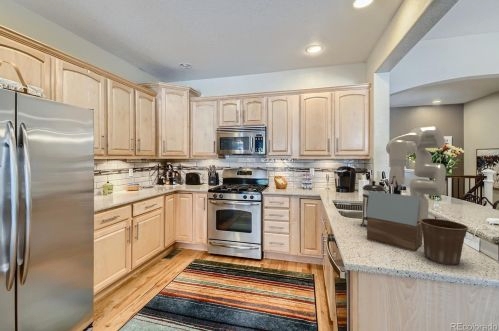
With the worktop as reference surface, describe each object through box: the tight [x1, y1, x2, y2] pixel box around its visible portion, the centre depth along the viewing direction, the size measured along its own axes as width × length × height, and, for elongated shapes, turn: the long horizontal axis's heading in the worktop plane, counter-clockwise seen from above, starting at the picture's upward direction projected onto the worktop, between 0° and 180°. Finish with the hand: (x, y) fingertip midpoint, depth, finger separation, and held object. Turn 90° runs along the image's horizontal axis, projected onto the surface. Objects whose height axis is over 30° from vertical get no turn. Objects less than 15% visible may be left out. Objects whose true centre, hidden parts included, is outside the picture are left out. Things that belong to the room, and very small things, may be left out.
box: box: [366, 217, 423, 252], centre depth 122 cm, size 14×22×12 cm, turn 42°
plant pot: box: [420, 217, 469, 266], centre depth 101 cm, size 16×16×16 cm
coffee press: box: [360, 180, 386, 227], centre depth 149 cm, size 17×16×30 cm
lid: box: [366, 191, 420, 226], centre depth 118 cm, size 14×23×1 cm
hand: (396, 197), depth 124 cm, fingers closed
